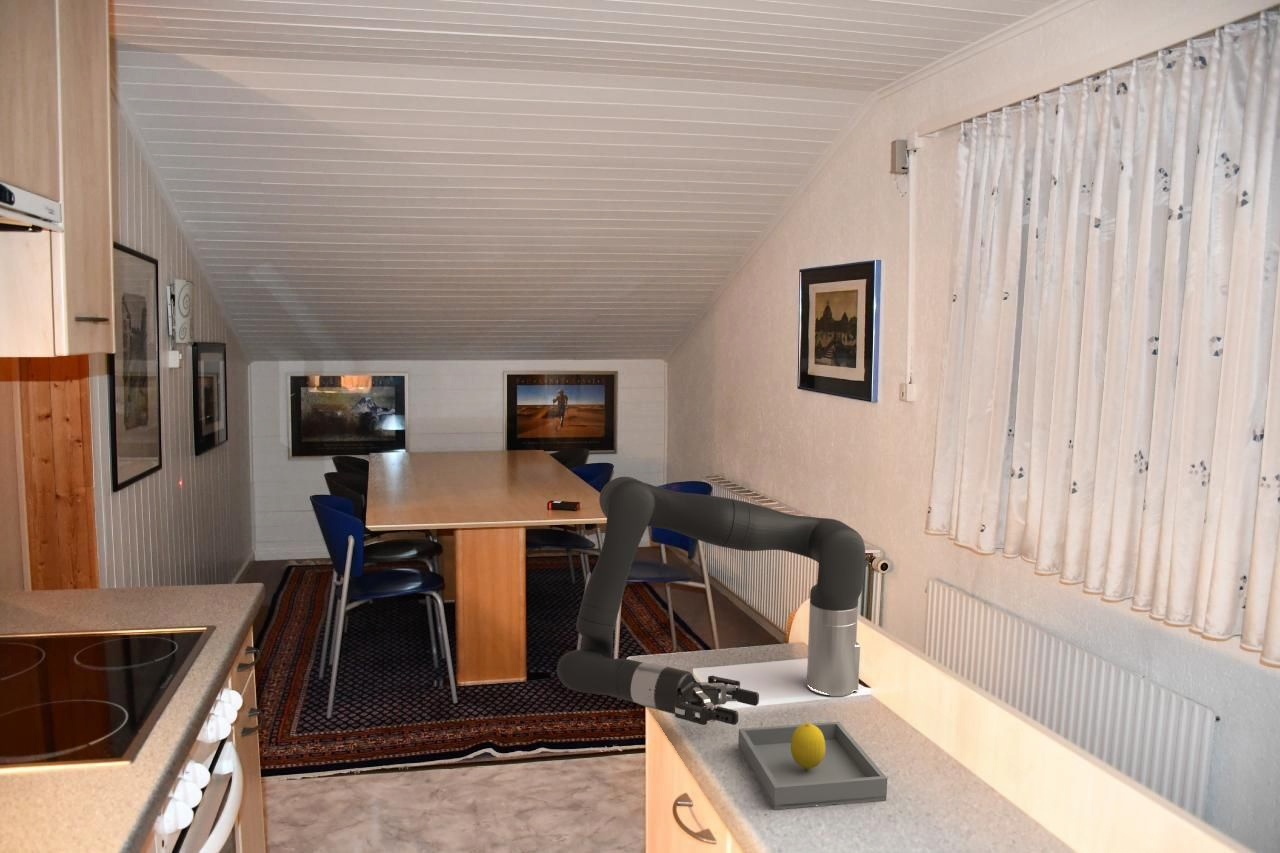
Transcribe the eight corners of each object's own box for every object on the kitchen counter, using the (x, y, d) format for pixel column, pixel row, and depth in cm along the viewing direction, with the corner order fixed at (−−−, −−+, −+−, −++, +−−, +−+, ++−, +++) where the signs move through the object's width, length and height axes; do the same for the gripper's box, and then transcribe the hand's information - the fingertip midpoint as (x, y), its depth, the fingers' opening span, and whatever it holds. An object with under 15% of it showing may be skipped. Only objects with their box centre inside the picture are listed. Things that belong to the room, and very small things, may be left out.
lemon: (804, 781, 156) (806, 733, 155) (783, 766, 161) (784, 720, 160) (831, 772, 159) (833, 726, 158) (809, 758, 164) (811, 712, 163)
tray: (838, 741, 172) (838, 721, 171) (886, 800, 152) (887, 778, 152) (738, 748, 169) (738, 728, 168) (774, 809, 149) (775, 787, 149)
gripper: (642, 681, 166) (730, 702, 158) (681, 654, 178) (765, 673, 170) (642, 723, 167) (729, 747, 159) (681, 694, 179) (764, 714, 171)
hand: (748, 708), depth 165 cm, fingers open, 8 cm apart
